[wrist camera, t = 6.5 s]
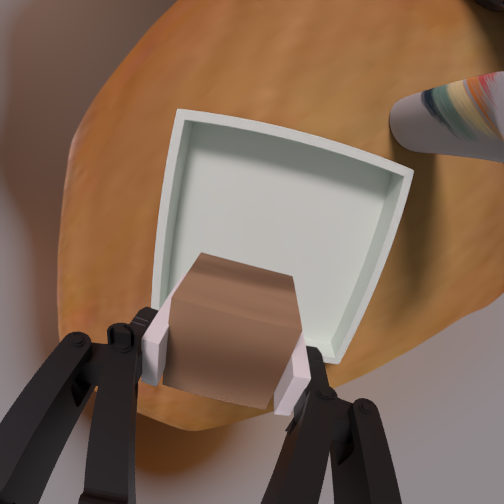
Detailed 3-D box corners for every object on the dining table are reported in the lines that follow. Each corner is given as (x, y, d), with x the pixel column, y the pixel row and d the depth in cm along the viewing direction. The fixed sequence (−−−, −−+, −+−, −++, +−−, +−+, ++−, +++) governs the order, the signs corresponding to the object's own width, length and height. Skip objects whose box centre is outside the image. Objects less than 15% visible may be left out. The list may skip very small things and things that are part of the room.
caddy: (193, 115, 23) (177, 108, 19) (391, 166, 24) (414, 170, 19) (165, 301, 30) (150, 324, 26) (331, 337, 31) (338, 364, 26)
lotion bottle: (442, 134, 22) (602, 151, 3) (408, 162, 24) (580, 207, 5) (413, 88, 21) (570, 50, 2) (377, 115, 22) (547, 83, 3)
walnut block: (201, 252, 16) (171, 297, 11) (292, 276, 16) (302, 330, 11) (187, 327, 18) (162, 384, 13) (266, 347, 18) (265, 409, 13)
